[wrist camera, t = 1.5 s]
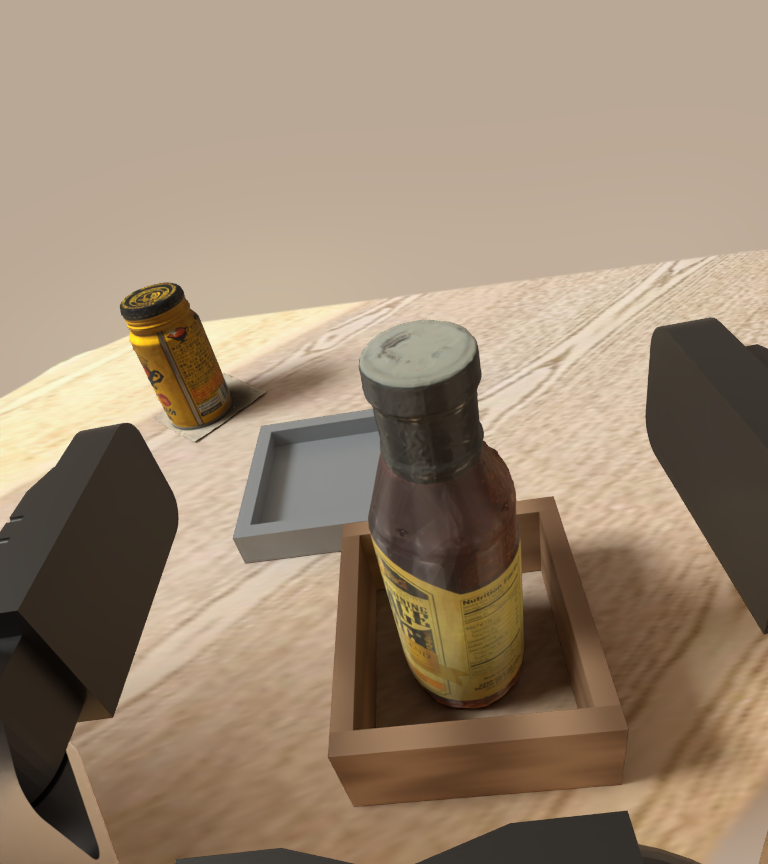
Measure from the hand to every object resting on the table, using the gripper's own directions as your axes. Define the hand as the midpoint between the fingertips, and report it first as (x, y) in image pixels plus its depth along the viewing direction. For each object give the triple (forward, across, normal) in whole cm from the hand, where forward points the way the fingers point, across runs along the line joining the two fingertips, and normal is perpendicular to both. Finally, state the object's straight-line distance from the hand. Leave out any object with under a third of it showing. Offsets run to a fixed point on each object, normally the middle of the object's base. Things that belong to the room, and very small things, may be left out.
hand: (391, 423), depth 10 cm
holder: (+11, 0, +24) cm, 26 cm away
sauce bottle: (+11, 0, +24) cm, 27 cm away
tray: (+26, +8, +24) cm, 36 cm away
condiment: (+40, +20, +24) cm, 51 cm away
